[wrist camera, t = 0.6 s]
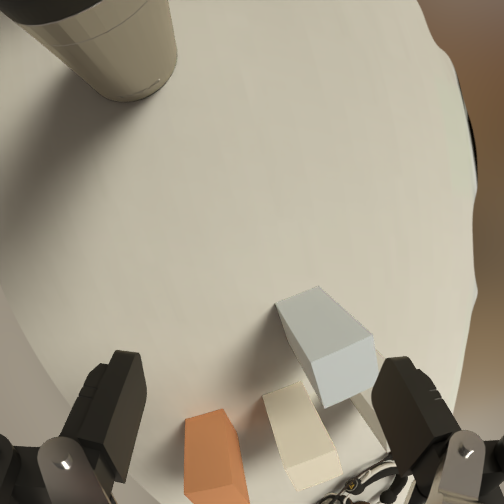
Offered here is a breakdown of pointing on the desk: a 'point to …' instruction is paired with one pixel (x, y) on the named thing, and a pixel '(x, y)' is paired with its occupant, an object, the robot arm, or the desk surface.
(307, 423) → the cream block
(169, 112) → the desk surface
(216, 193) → the desk surface
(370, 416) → the grey block
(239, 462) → the rust block
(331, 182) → the desk surface
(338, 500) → the headset
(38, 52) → the desk surface
